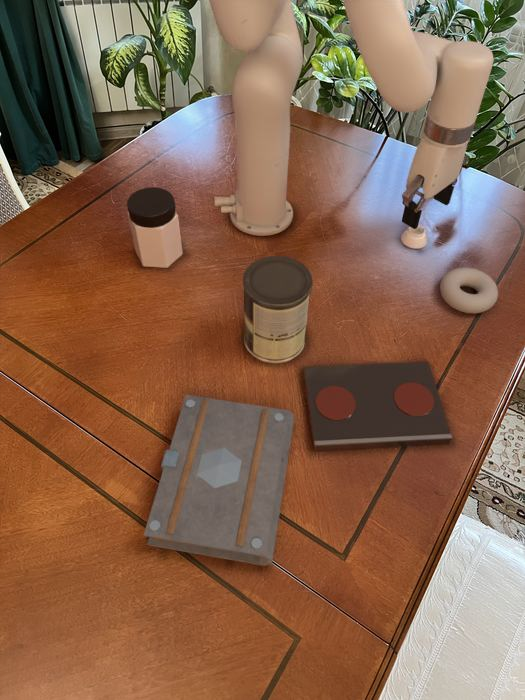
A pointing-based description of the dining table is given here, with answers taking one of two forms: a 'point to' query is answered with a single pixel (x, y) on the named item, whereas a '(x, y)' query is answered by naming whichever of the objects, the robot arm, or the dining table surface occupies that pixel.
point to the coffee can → (276, 308)
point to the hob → (374, 406)
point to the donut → (464, 300)
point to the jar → (154, 227)
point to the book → (223, 481)
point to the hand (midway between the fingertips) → (425, 213)
